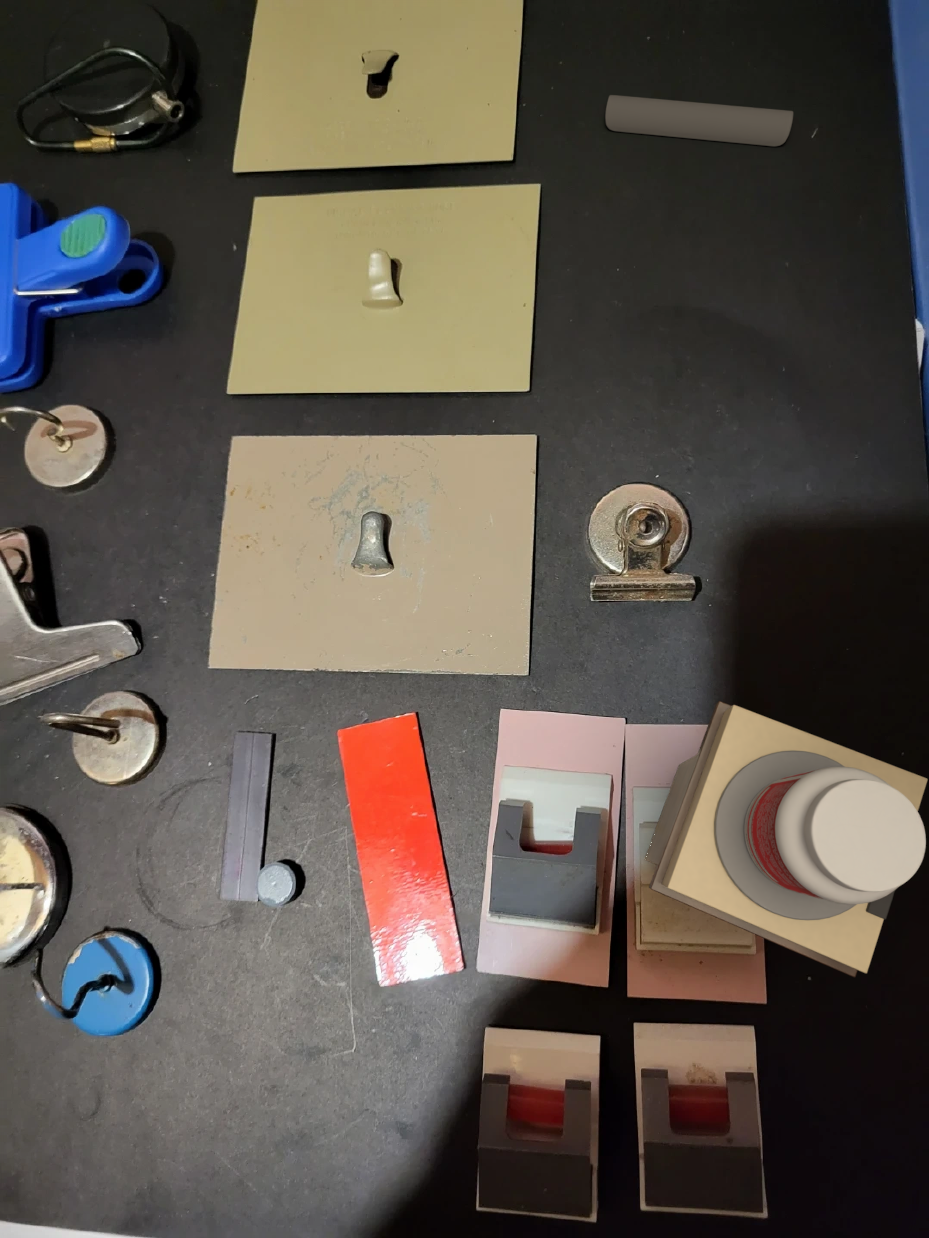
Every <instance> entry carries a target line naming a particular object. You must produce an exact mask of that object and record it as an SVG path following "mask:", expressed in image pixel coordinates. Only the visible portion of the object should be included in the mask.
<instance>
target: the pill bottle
mask: <svg viewBox="0 0 929 1238" xmlns="http://www.w3.org/2000/svg"><path fill="white" fill-rule="evenodd" d="M918 811H919V810H918ZM918 811H917V810H916V808H915V807H914V805H913V804H912V803H911V802H910V801H909V800H908V798H907V797H905V796H904V795H903V794H902V793H901V792H899V791H898V790H896V789H895V788H893V787H891V786H890V785H889V784H888V783H887V782H885V781H884V780H882V779H881V778H879V777H877V776H876V775H873V774H871V773H869V772H866V771H864V770H860V769H856V768H851V767H828V768H822V769H818V770H814V771H811V772H807V773H802V774H798V775H792V776H788V777H785V778H782V779H779V780H777V781H774V782H772V783H771V784H769V785H767V786H766V787H765V788H763V789H762V790H761V791H760V792H759V793H758V794H757V795H756V797H755V798H754V799H753V801H752V802H751V804H750V806H749V808H748V811H747V814H746V818H745V825H744V834H745V841H746V845H747V848H748V851H749V854H750V856H751V858H752V860H753V861H754V863H755V865H756V866H757V867H758V868H759V870H760V871H761V872H762V873H763V874H764V875H765V876H766V877H767V878H769V879H770V880H771V881H773V882H774V883H776V884H777V885H779V886H781V887H783V888H785V889H788V890H791V891H794V892H797V893H801V894H805V895H809V896H812V897H816V898H820V899H824V900H828V901H832V902H836V903H842V904H863V903H868V902H872V901H875V900H878V899H881V898H883V897H885V896H887V895H888V894H890V893H892V892H893V891H894V890H895V891H896V890H897V889H898V888H899V887H901V886H902V885H904V884H905V883H906V882H908V881H909V880H910V879H911V878H913V877H914V875H915V874H916V873H917V871H918V870H919V868H920V866H921V865H922V863H923V860H924V857H925V853H926V849H927V846H926V845H927V838H926V829H925V826H924V822H923V819H922V818H921V815H920V813H919V812H918Z"/></svg>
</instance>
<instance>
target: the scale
mask: <svg viewBox="0 0 929 1238" xmlns="http://www.w3.org/2000/svg"><path fill="white" fill-rule="evenodd" d="M828 767H851V768H856V769H860V770H864V771H866V772H869V773H871V774H873V775H876V776H877V777H879V778H881V779H882V780H884V781H885V782H887V783H888V784H889V785H890V786H891V787H893V788H895V789H896V790H898V791H899V792H901V793H902V794H903V795H904V796H905V797H907V798H908V800H909V801H910V802H911V803H912V804H913V805H914V807H915V808H916V810H917V811H919V809H920V806H921V802H922V800H923V797H924V796H923V795H924V793H925V790H926V787H927V783H928V778H926V777H924V776H921V775H918V774H916V773H914V772H911V771H908V770H906V769H903V768H901V767H898V766H895V765H893V764H890V763H887V762H885V761H883V760H879V759H877V758H874V757H871V756H869V755H866V754H864V753H861V752H858V751H856V750H854V749H851V748H848V747H846V746H843V745H841V744H837V743H836V742H832V741H830V740H827V739H825V738H822V737H820V736H817V735H815V734H811V733H809V732H807V731H804V730H801V729H798V728H796V727H794V726H791V725H789V724H786V723H783V722H780V721H778V720H775V719H772V718H769V717H767V716H764V715H762V714H759V713H756V712H754V711H752V710H749V709H747V708H745V707H741V706H738V705H736V704H733V705H732V706H731V707H730V708H729V709H727V710H726V711H725V712H724V714H723V717H722V720H721V722H720V725H719V728H718V731H717V733H716V736H715V739H714V742H713V744H712V747H711V750H710V753H709V755H708V758H707V761H706V764H705V766H704V769H703V772H702V775H701V777H700V780H699V783H698V786H697V788H696V791H695V794H694V797H693V799H692V802H691V805H690V808H689V811H688V813H687V816H686V819H685V822H684V824H683V827H682V830H681V833H680V835H679V838H678V841H677V844H676V846H675V849H674V852H673V855H672V857H671V860H670V863H669V866H668V868H667V871H666V874H665V877H664V879H663V882H662V885H664V886H665V887H667V888H669V889H671V890H674V891H676V892H678V893H681V894H683V895H685V896H687V897H690V898H692V899H694V900H697V901H699V902H701V903H704V904H706V905H708V906H711V907H713V908H715V909H718V910H720V911H722V912H725V913H727V914H729V915H732V916H734V917H736V918H738V919H741V920H743V921H745V922H748V923H750V924H752V925H755V926H757V927H759V928H762V929H764V930H766V931H769V932H771V933H773V934H776V935H778V936H780V937H783V938H785V939H787V940H789V941H792V942H794V943H796V944H799V945H801V946H803V947H806V948H808V949H810V950H813V951H815V952H817V953H820V954H822V955H824V956H827V957H829V958H831V959H834V960H836V961H838V962H840V963H843V964H845V965H847V966H850V967H852V968H854V969H857V971H859V972H861V973H864V974H868V972H869V968H870V965H871V962H872V958H873V955H874V952H875V948H876V946H877V944H878V943H877V942H878V939H879V936H880V933H881V930H882V926H883V923H884V920H887V917H888V914H889V911H890V908H891V905H892V902H893V898H894V895H895V892H896V889H895V890H894V891H893V892H892V893H890V894H888V895H887V896H885V897H883V898H881V899H878V900H875V901H872V902H868V903H863V904H842V903H836V902H832V901H828V900H824V899H820V898H816V897H812V896H809V895H805V894H801V893H797V892H794V891H791V890H788V889H785V888H783V887H781V886H779V885H777V884H776V883H774V882H773V881H771V880H770V879H769V878H767V877H766V876H765V875H764V874H763V873H762V872H761V871H760V870H759V868H758V867H757V866H756V865H755V863H754V861H753V860H752V858H751V856H750V854H749V851H748V848H747V845H746V841H745V834H744V825H745V818H746V814H747V811H748V808H749V806H750V804H751V802H752V801H753V799H754V798H755V797H756V795H757V794H758V793H759V792H760V791H761V790H762V789H763V788H765V787H766V786H767V785H769V784H771V783H772V782H774V781H777V780H779V779H782V778H785V777H788V776H792V775H798V774H802V773H807V772H811V771H814V770H818V769H822V768H828Z"/></svg>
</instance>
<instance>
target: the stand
mask: <svg viewBox="0 0 929 1238" xmlns="http://www.w3.org/2000/svg"><path fill="white" fill-rule="evenodd" d="M731 706H733V705H732V704H730V703H726V702H724V701H721V700H719V701H717V702H716V703H715V704H714V707H713V710H712V713H711V716H710V719H709V721H708V725H707V727H706V730H705V732H704V735H703V738H702V741H701V742H700V743H701V744H700V746H699V749H698V751H697V753H696V754H695V755H694V756H692V757H691V758H689V759H687V760H685V761H684V762H683V761H682V763H680V764H679V765H678V766H677V769H676V772H675V773H674V774H675V775H674V777H673V781H672V783H671V786H670V788H669V790H668V794H667V796H666V799H665V802H664V805H663V807H662V810H661V813H660V816H659V818H658V820H657V823H656V826H655V828H654V831H653V834H652V837H651V840H650V843H649V845H648V848H647V851H646V853H645V856H644V860H645V859H646V860H645V861H647V862H650V863H651V864H653V865H656V867H655V869H654V872H653V875H652V878H651V880H650V883H649V886H648V888H649V889H650V890H652V891H653V892H656V893H658V894H660V895H663V896H665V897H667V898H670V899H672V900H674V901H677V902H679V903H682V904H684V905H686V906H687V907H691V908H693V909H695V910H698V911H700V912H703V913H705V914H707V915H709V916H712V917H714V918H716V919H718V920H721V921H723V922H725V923H728V924H729V925H732V926H735V927H736V928H739V929H741V930H744V931H746V932H748V933H751V934H753V935H755V936H757V937H760V938H762V939H764V940H767V941H769V942H771V943H774V944H776V945H777V946H780V947H783V948H785V949H788V950H790V951H792V952H795V953H797V954H799V955H801V956H804V957H806V958H808V959H811V960H813V961H816V962H818V963H820V964H822V965H825V966H827V967H830V968H831V969H834V970H836V971H839V972H841V973H843V974H845V975H848V976H850V977H852V978H856V976H857V973H858V970H857V969H854V968H852V967H850V966H847V965H845V964H843V963H840V962H838V961H836V960H834V959H831V958H829V957H827V956H824V955H822V954H820V953H817V952H815V951H813V950H810V949H808V948H806V947H803V946H801V945H799V944H796V943H794V942H792V941H789V940H787V939H785V938H783V937H780V936H778V935H776V934H773V933H771V932H769V931H766V930H764V929H762V928H759V927H757V926H755V925H752V924H750V923H748V922H745V921H743V920H741V919H738V918H736V917H734V916H732V915H729V914H727V913H725V912H722V911H720V910H718V909H715V908H713V907H711V906H708V905H706V904H704V903H701V902H699V901H697V900H694V899H692V898H690V897H687V896H685V895H683V894H681V893H678V892H676V891H674V890H671V889H669V888H667V887H665V886H664V885H662V882H663V879H664V877H665V874H666V871H667V868H668V866H669V863H670V860H671V857H672V855H673V852H674V849H675V846H676V844H677V841H678V838H679V835H680V833H681V830H682V827H683V824H684V822H685V819H686V816H687V813H688V811H689V808H690V805H691V802H692V799H693V797H694V794H695V791H696V788H697V786H698V783H699V780H700V777H701V775H702V772H703V769H704V766H705V764H706V761H707V758H708V755H709V753H710V750H711V747H712V744H713V742H714V739H715V736H716V733H717V731H718V728H719V725H720V722H721V720H722V717H723V714H724V712H725V711H726V710H727V709H729V708H730V707H731ZM654 834H655V835H654ZM651 842H652V843H651ZM650 845H651V846H650ZM647 853H648V854H647ZM646 856H647V857H646Z"/></svg>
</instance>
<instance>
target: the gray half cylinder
mask: <svg viewBox="0 0 929 1238" xmlns="http://www.w3.org/2000/svg"><path fill="white" fill-rule="evenodd" d="M604 118H605V125H606V127H607V129H609V130H610V131H613V132H619V133H620V132H621V133H629V134H630V133H631V134H640V135H641V134H642V135H651V136H663V137H670V138H671V137H673V138H683V139H693V140H703V141H715V142H725V143H734V144H744V145H755V146H756V145H757V146H764V147H765V146H767V147H779V146H782V145H784V143H785V142H786V141H787V139H788V137H789V136H790V132H791V129H792V124H793V121H794V111H793V110H786V109H785V110H784V109H775V108H763V107H762V108H761V107H753V106H752V107H750V106H741V105H729V104H718V103H709V102H708V103H707V102H706V103H705V102H695V101H686V100H685V101H683V100H673V99H661V98H650V97H639V96H629V95H616V94H609V95H608V99H607V102H606V107H605V117H604Z"/></svg>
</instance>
